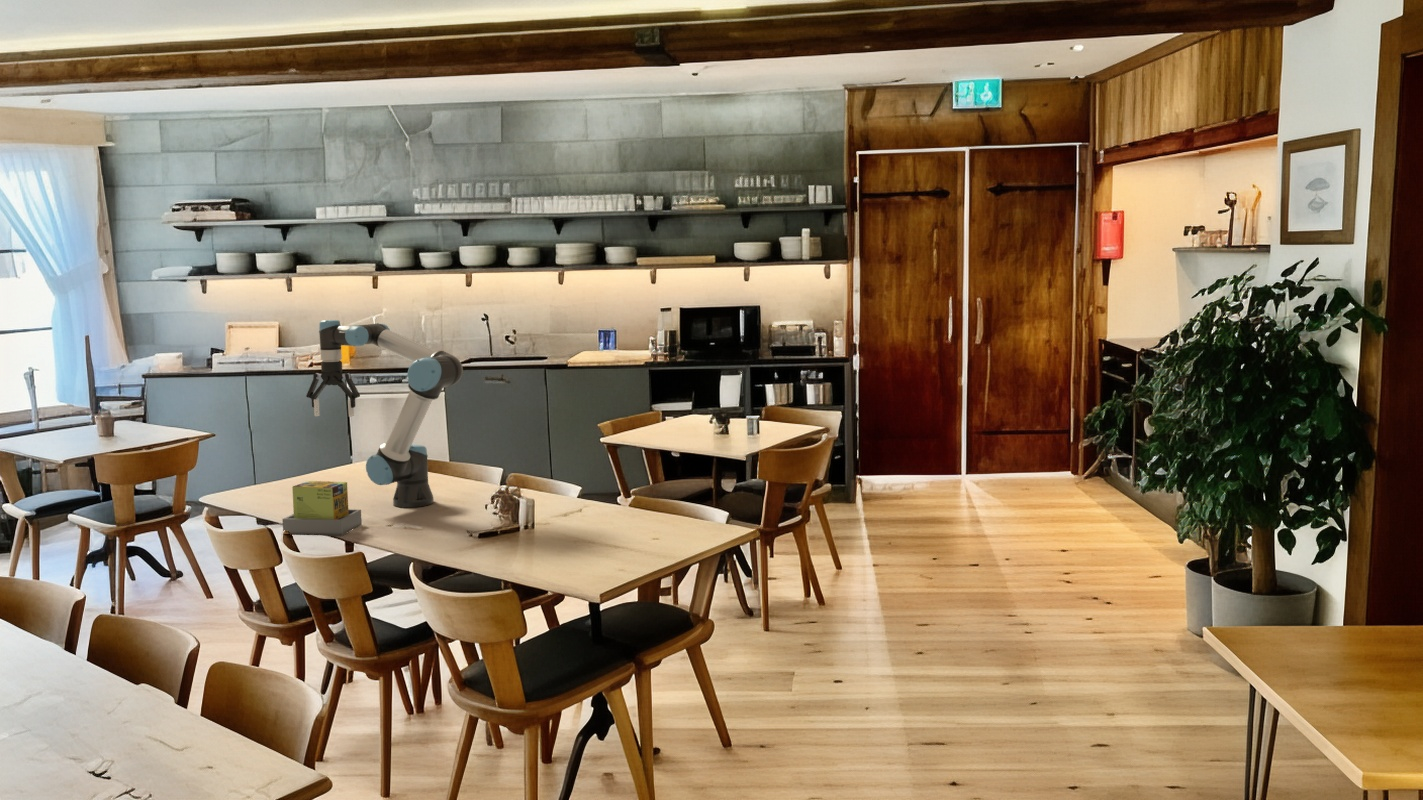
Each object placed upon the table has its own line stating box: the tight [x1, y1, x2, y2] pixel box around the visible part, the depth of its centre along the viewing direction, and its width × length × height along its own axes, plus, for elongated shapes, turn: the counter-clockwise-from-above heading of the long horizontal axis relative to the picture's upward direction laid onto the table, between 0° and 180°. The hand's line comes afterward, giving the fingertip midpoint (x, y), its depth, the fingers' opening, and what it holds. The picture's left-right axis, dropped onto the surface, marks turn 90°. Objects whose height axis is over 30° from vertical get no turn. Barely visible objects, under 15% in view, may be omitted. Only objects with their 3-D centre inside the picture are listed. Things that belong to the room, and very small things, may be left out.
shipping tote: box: [281, 508, 363, 537], centre depth 377 cm, size 21×16×6 cm
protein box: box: [291, 480, 349, 519], centre depth 376 cm, size 10×15×16 cm
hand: (334, 416), depth 411 cm, fingers open, 13 cm apart
